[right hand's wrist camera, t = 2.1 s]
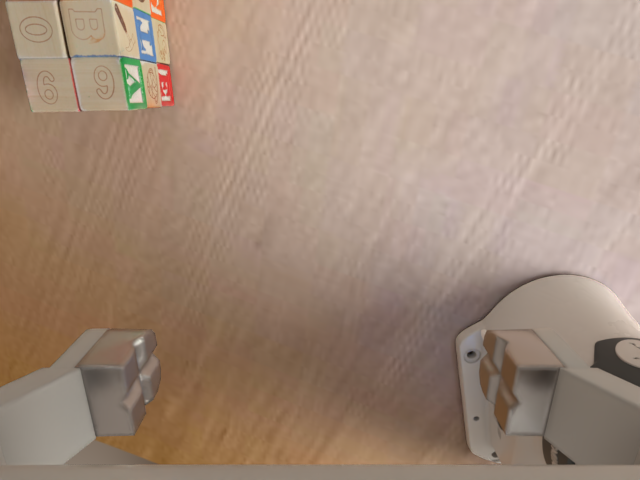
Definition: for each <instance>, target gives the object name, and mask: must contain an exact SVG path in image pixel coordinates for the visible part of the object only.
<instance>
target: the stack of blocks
mask: <svg viewBox="0 0 640 480" xmlns="http://www.w3.org/2000/svg"><path fill="white" fill-rule="evenodd" d="M5 5H6V9H7V14H8V18H9V23H10V27H11V31H12V36H13V40H14V44H15V48H16V53H17V57H18V59H20V63H21V68H22V73H23V77H24V81H25V86H26V91H27V95H28V99H29V104H30V108H31V111H32V112H80V111H116V110H137V109H146V108H160V107H169V106H173V105H174V98H173V90H172V82H171V75H170V68H169V64H170V56H169V47H168V39H167V30H166V25H165V11H164V2H163V0H6V2H5Z"/></svg>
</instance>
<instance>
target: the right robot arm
mask: <svg viewBox="0 0 640 480" xmlns="http://www.w3.org/2000/svg"><path fill="white" fill-rule="evenodd" d="M455 344H456V353H457V362H458V370H459V379H460V388H461V397H462V405H463V414H464V423H465V431H466V439H467V444H468V447H469V449H470V450H471V452H472V453H473V454H475V455H477V456H479V457H481V458H483V459H486V460H489V461H492V462H496V463H501V464H502V465H63V464H64V463H66V462H67V461H68V460H70V459H71V458H72V457H73V456H75V455H76V454H77V453H78V452H80V451H81V450H82V449H83V448H85V447H86V446H87V445H88V444H90V443H91V442H92V441H93V440H95V439H96V436H128V435H135V433H136V431H137V430H138V428H139V426H140V424H141V422H142V420H143V418H144V417H145V415H146V409H145V405H146V404H148V403H149V402H151V401H152V400H154V398H155V396H156V394H157V392H158V388H159V384H160V380H161V367H160V360H159V359H158V358H157V357H156V356H155V355H154V354H153V351H154V349H155V348H156V346H157V341H156V336H155V333H154V332H153V331H152V329H109V328H96V329H87V330H86V331H85V332H84V333H83V334H82V335H81V336H80V337H79V338H78V339H77V340H76V341H75V342H74V343H73V344H72V345H71V346H70V347H69V348H68V349H67V350H66V351H65V352H64V353H63V354H62V355H61V356H60V357H59V358H58V359H57V361H56V362H55V363H54V364H53V365H52V366H51V367H50V368H41V369H39V370H37V371H35V372H32V373H30V374H28V375H26V376H24V377H21V378H19V379H17V380H15V381H13V382H10V383H8V384H6V385H4V386H2V387H0V480H640V325H639V324H638V323H637V322H636V321H635V319H634V318H633V317H632V316H631V315H630V314H629V312H628V311H627V310H626V308H625V307H624V306H623V304H622V303H621V301H620V300H619V299H618V297H617V296H616V295H615V294H614V292H612V291H611V290H610V289H609V288H608V287H606V286H605V285H603V284H602V283H600V282H598V281H596V280H593V279H590V278H587V277H583V276H578V275H554V276H548V277H544V278H540V279H537V280H534V281H531V282H529V283H527V284H525V285H523V286H521V287H519V288H517V289H516V290H514V291H513V292H511V293H510V294H508V295H507V296H506V297H505V298H503V299H502V300H501V301H500V302H499V303H498V304H497V305H496V306H495V307H494V308H493V310H492V311H491V312H490V313H489V314H488V315H487V316H486V317H485V318H484V319H483V320H481V321H479V322H477V323H476V324H474V325H472V326H470V327H468V328H467V329H465V330H463V331H462V332H461V333H460V334H459V335H458V336H457V338H456V341H455ZM470 351H473V353H471V354H468V352H470Z"/></svg>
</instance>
